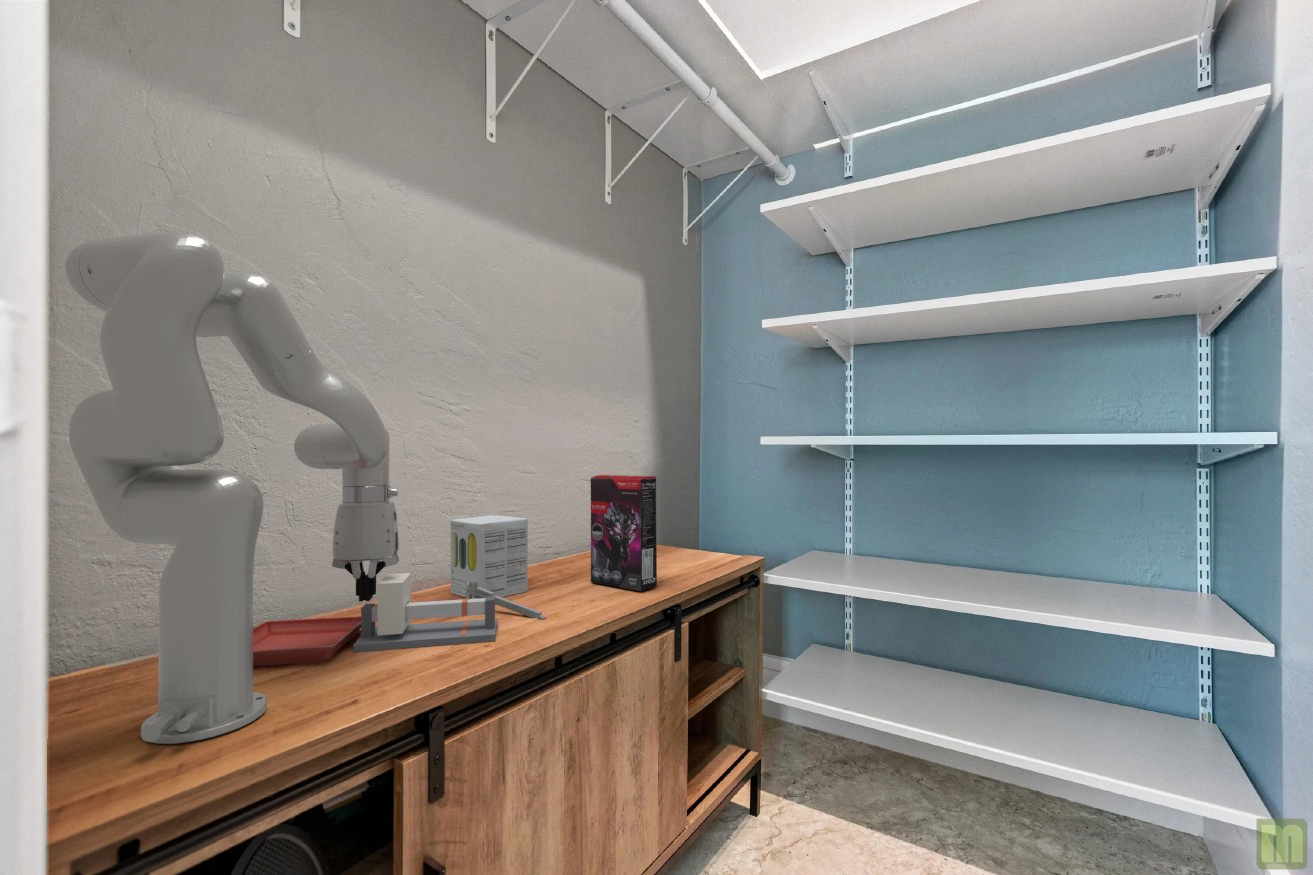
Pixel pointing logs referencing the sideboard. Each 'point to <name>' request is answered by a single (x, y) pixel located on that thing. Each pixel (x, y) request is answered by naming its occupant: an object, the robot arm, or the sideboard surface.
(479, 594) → the caliper
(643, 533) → the graphics card box
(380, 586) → the white sliding block
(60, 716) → the sideboard surface
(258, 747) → the sideboard surface
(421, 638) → the gray slide rail base
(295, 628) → the plant saucer
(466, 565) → the supplement box
